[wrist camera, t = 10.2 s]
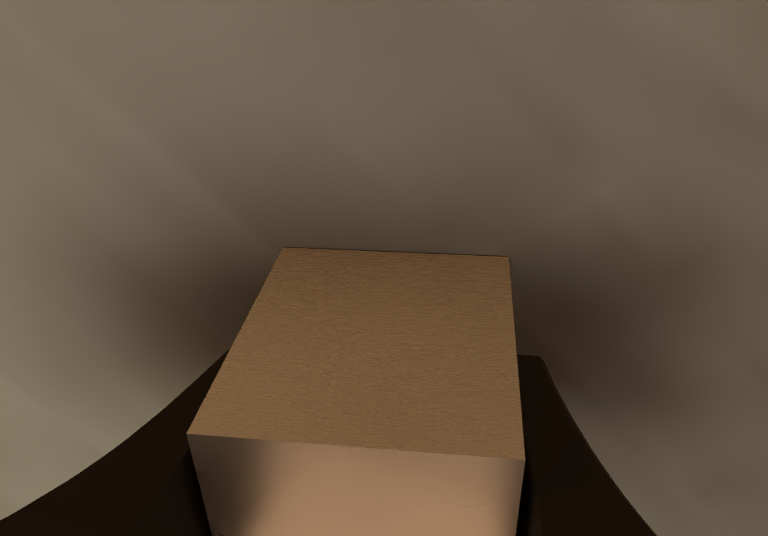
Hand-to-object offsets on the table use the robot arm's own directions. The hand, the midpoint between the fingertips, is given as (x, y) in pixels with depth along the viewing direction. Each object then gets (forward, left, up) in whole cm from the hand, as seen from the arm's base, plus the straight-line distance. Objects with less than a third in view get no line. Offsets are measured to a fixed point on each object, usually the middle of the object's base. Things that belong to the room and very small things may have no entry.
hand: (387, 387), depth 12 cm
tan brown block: (0, 0, -1) cm, 1 cm away
